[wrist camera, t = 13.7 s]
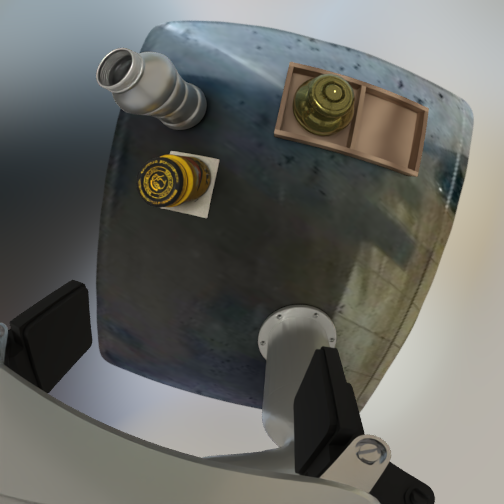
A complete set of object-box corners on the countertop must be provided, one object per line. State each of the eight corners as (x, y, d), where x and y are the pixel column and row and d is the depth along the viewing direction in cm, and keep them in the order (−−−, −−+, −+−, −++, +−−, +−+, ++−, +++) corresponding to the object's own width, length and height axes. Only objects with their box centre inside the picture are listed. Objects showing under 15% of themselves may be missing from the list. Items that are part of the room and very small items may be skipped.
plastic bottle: (157, 114, 36) (70, 83, 17) (189, 80, 34) (121, 21, 15) (187, 141, 37) (109, 121, 18) (220, 106, 35) (168, 52, 16)
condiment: (219, 159, 37) (195, 155, 26) (207, 218, 40) (179, 238, 28) (171, 150, 37) (131, 145, 26) (160, 207, 40) (119, 223, 28)
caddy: (417, 112, 32) (428, 108, 29) (406, 175, 35) (417, 176, 32) (288, 70, 33) (290, 61, 29) (274, 136, 36) (274, 133, 32)
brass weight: (313, 76, 32) (324, 47, 22) (356, 110, 32) (381, 92, 23) (280, 114, 34) (281, 95, 24) (325, 149, 35) (342, 142, 25)
